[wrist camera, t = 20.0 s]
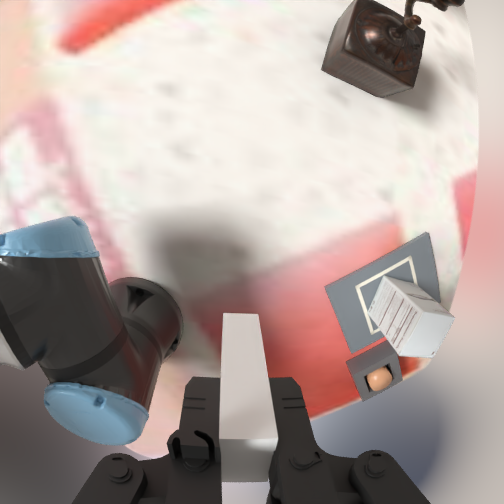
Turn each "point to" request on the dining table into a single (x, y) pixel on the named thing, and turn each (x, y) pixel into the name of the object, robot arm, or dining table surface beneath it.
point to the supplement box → (409, 318)
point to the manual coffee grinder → (378, 46)
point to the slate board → (368, 280)
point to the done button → (379, 378)
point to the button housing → (374, 368)
